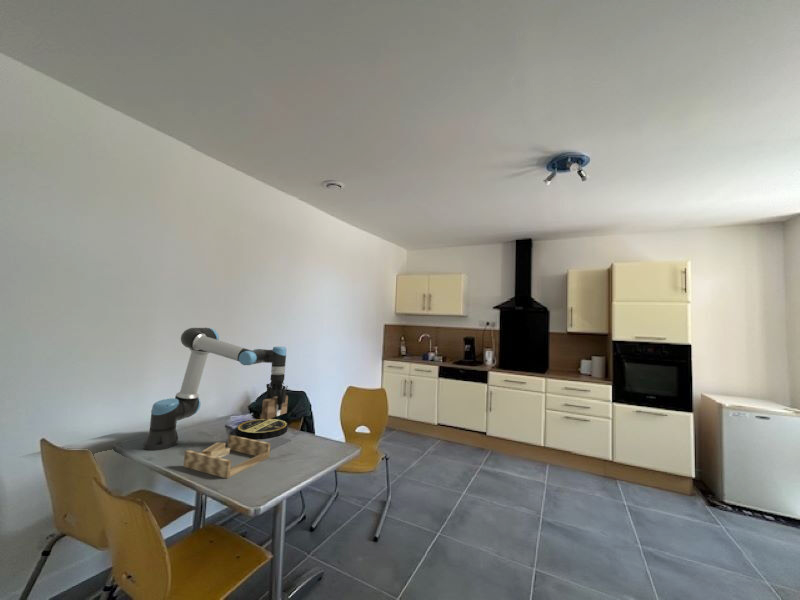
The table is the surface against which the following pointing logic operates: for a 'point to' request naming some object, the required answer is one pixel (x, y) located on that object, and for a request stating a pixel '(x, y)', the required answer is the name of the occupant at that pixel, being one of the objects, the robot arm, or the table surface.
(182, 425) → the table surface
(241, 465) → the rack
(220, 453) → the slab long
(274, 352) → the robot arm
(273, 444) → the mat
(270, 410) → the brown wooden block
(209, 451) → the slab short
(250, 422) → the sign
